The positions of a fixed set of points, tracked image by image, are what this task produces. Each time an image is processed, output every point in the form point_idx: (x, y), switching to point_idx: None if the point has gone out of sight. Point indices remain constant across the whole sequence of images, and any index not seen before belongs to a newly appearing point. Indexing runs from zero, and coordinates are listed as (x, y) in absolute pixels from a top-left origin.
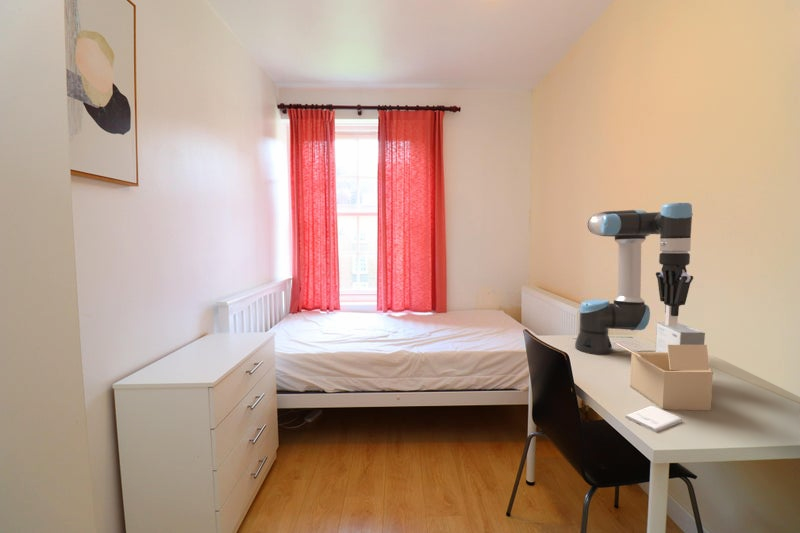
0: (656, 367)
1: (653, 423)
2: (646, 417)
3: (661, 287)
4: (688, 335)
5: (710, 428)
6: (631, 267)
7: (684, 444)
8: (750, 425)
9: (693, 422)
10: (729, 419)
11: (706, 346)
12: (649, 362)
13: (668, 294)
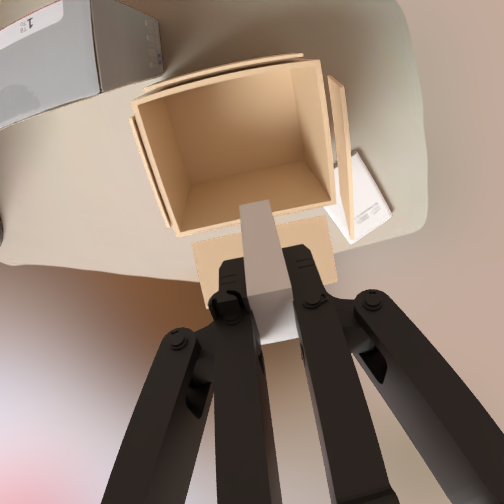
0: (302, 210)
1: (377, 211)
2: (358, 214)
3: (188, 480)
4: (103, 58)
5: (375, 111)
6: None
7: (420, 187)
8: (350, 24)
9: (356, 129)
10: (331, 46)
11: (342, 86)
12: (331, 249)
13: (268, 416)
